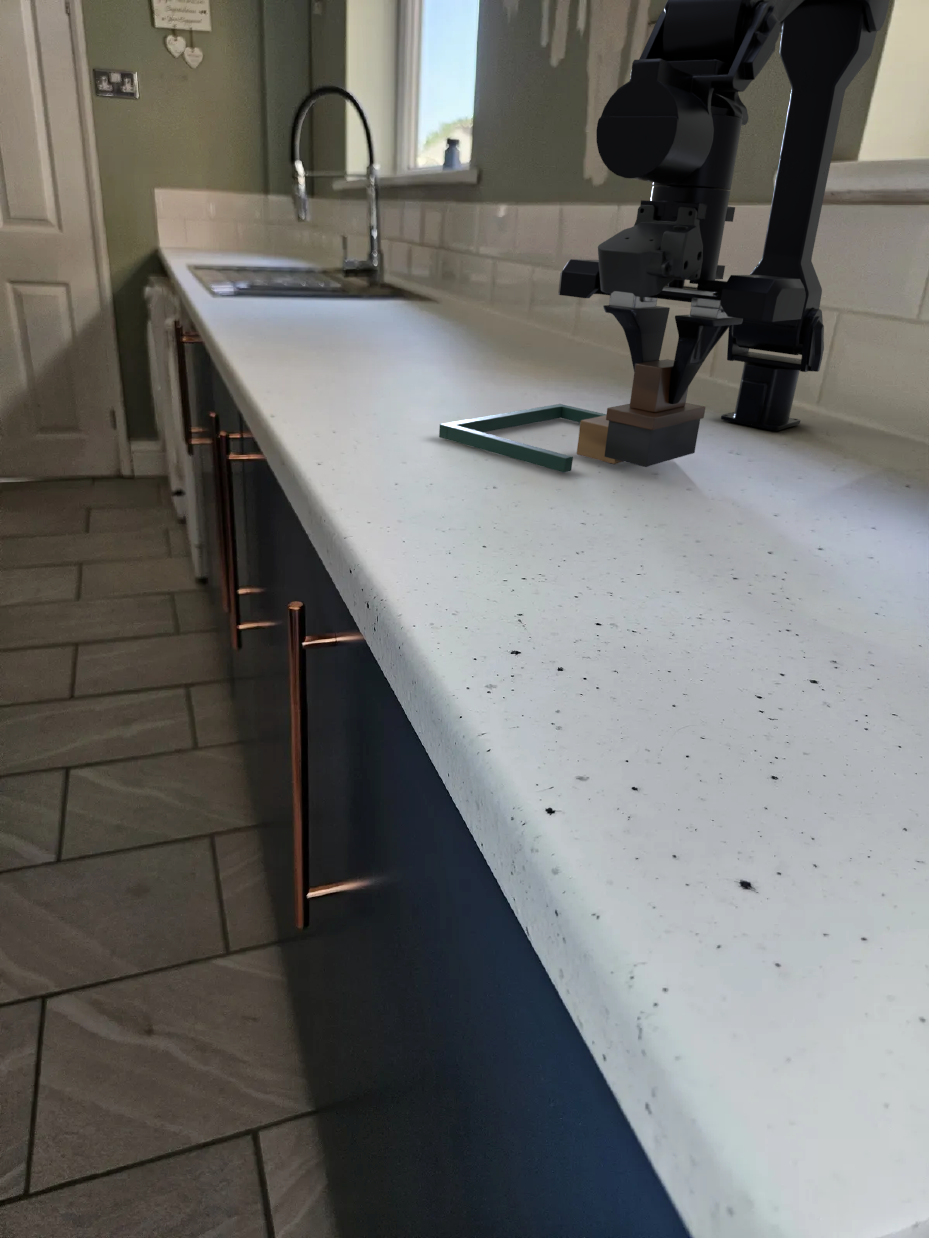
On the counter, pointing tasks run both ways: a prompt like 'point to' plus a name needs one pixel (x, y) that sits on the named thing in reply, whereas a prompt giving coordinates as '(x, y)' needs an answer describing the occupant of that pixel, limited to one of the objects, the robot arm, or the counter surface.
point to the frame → (474, 436)
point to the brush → (652, 420)
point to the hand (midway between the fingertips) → (658, 400)
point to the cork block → (594, 439)
